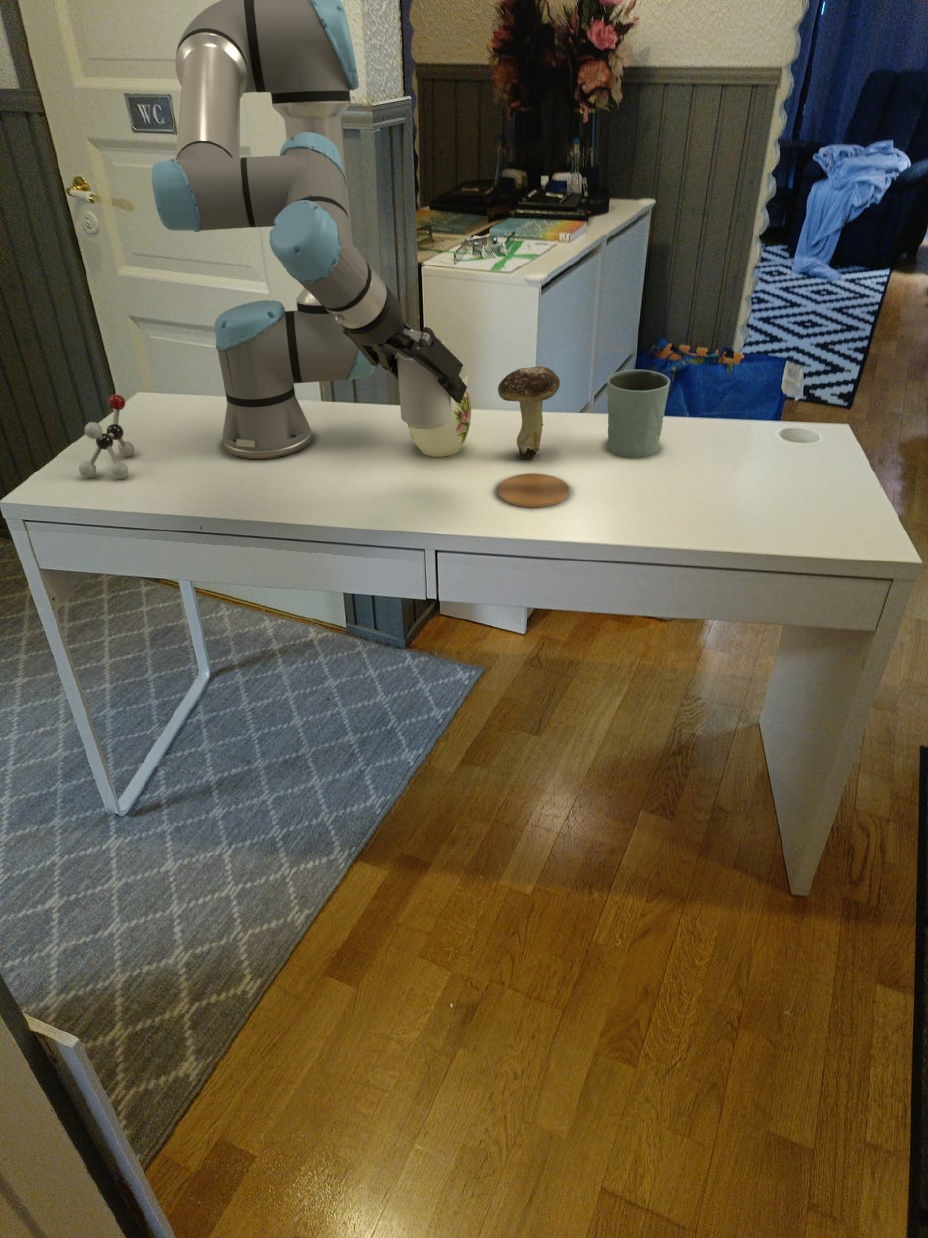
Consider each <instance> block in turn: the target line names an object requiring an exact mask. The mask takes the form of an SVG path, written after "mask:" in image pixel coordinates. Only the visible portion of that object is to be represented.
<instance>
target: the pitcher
mask: <svg viewBox="0 0 928 1238" xmlns="http://www.w3.org/2000/svg"><path fill="white" fill-rule="evenodd" d="M459 376H460V378H461V379H462V381H463V382H464V383H465V385H466V386H467V385H468V380H469V371H468V370H467V369H465V368H464V367H462V369H461V372H460V374H459ZM467 387H468V386H467ZM467 389H468V388H467ZM467 389H466V391H465V394H464V396H463V399H462V401H461V403H456V402H455V401H454V399H453V398H452V397H451V418H450V419H449V420H448V421H447V422H446V423H445V424H444V425H442V426H440V427H437V428H433V429H417V428H413V427H411V426H409V425H408V424H407V427H408V431H409V433H410V436H411V438H412V440H413V442H414V445H416V448H418V449H419V451H420V452H421V453H422V454H423V455H426V456H429V457H435V458H443V457H449V456H452V455H455V454H457V453H458V452H459V451H460V449H461V447H462V446H463V444H464V443H465V441H466V439H467V436H468V433H469V430H470V427H471V419H472V403H471V398H470V395H469V392H468V390H467Z"/></svg>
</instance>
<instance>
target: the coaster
mask: <svg viewBox="0 0 928 1238" xmlns="http://www.w3.org/2000/svg"><path fill="white" fill-rule="evenodd" d="M497 494H498V496H499V497H500V498H501V499H502V500H503V501H504V502H506V503H508V504H510V505H513V506H517V507H521V508H530V509H531V508H532V509H533V508H534V509H535V508H536V509H538V508H547V507H551V506H556V505H559V504H560V503H562V502H564V501H565V500H566V499H567V498H568V496H569V494H570V487H569V485H568V484H567V483H566V482H565V481H564V480H563V479H561V478H558V477H556V476H554V475H549V474H543V473H524V474H523V473H521V474H517V475H513V476H510V477H508V478H506V479H504V480H503V481H502V482H500V484H499V485H498V493H497Z"/></svg>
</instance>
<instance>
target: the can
mask: <svg viewBox="0 0 928 1238" xmlns="http://www.w3.org/2000/svg"><path fill="white" fill-rule="evenodd" d="M436 338H437V339H438V340H439V341H440V342H441V343H442V344H443V345H444V346H445V344H446V341H445V340H444V339H443V338H441V337H439V336H436ZM406 349H407V348H406ZM396 358H397V363H398V378H399V380H398V393H399V407H400V408H399V409H400V418H401V420H402V421H403V422H404V423H405V424H407V426H408V425H409V426H411V427H413V428H417V429H433V428H437V427H440V426H442V425H444V424H445V423H446V422H447V421H448V420H449V419H450V418H451V396H450V395H449V394H448V392H447V391H446V390H445V389H444V388H443V387H442V386H441V385H439V384H440V383H439V382H438V379H439V378H438V377H437V376H435V375H434V374H433V373H431V372H430V371H429V370H427V369H426V368H424V367H423V366H422V365H420V364H419V363H418V362H416V361H415V360H413V359H412V358H405V357H403V356H402V355H401V354H399V353H398V352H397V353H396Z"/></svg>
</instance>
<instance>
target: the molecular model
mask: <svg viewBox="0 0 928 1238" xmlns="http://www.w3.org/2000/svg"><path fill="white" fill-rule="evenodd" d="M107 402H108V406H109V407H110V409H111V410H113V414H112V423H111V424H110V425H108V426H107V427H106V433H105V432H104V431H103V428H102V426H101V424H99V423H98V422H95V421H90V422H88V423H87V424H85V426H84V434H85V436H86V437H88V438H89V439H92V440H95V444H96V448H95V450H94V452H93V454H92V455H91V457H90V459H89V461H87V460H86V461H82V462H81V463H80V465H79V466H78V471H79V474H80V475H81V476H82V477H83V478H87V479H90V478H94V477H95V476H96V474H97V471H98V470H97V466H96V464H95V463H96V461H97V459H98V458H99V455H100V453H101V452H102V450H103V451H107V452H108V455H109V457H110V459H111V461H112V463H113V464H112V466H111V469H110V471H111V475H112V476H113V477H114V478H116V479H120V480H121V479H122V480H123V479H125V478H126V477H127V476H128V475H129V471H130V470H129V467H128V465H127V464H125V463H124V462H121V461H119V460H118V457H117V456H116V453H115V452H114V449H113V448H112V447H113V446H114V441H117V442H118V447H117V450H118V453H119V455H121V456H123V457H125V458H129V457H131V456H133V455H134V453H135V445H134V444H133V443H132V442H131V441H128V440H124V439H123V437H124V435H125V434H124V433H125V432H124V428H123V427H122V426H121V425H120V424H119V419H120V411H123V410H124V409H125V407H126V399H125V398H124V396H122V395H121V394H119V393H117V394H116V393H115V394H112V395H110V397H109V398H108V401H107Z"/></svg>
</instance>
